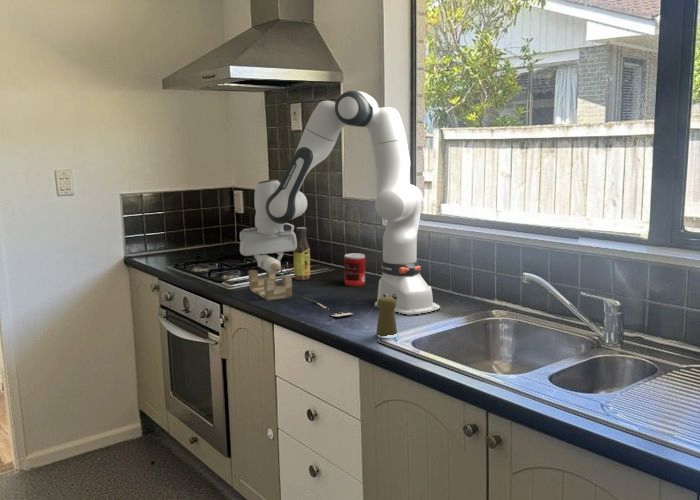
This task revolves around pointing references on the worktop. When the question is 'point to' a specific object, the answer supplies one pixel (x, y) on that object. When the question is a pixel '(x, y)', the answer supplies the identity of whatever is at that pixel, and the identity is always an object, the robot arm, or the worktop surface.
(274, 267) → the roll
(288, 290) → the holder
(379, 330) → the olive green tall figure
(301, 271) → the sauce bottle
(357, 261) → the canned food
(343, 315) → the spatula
